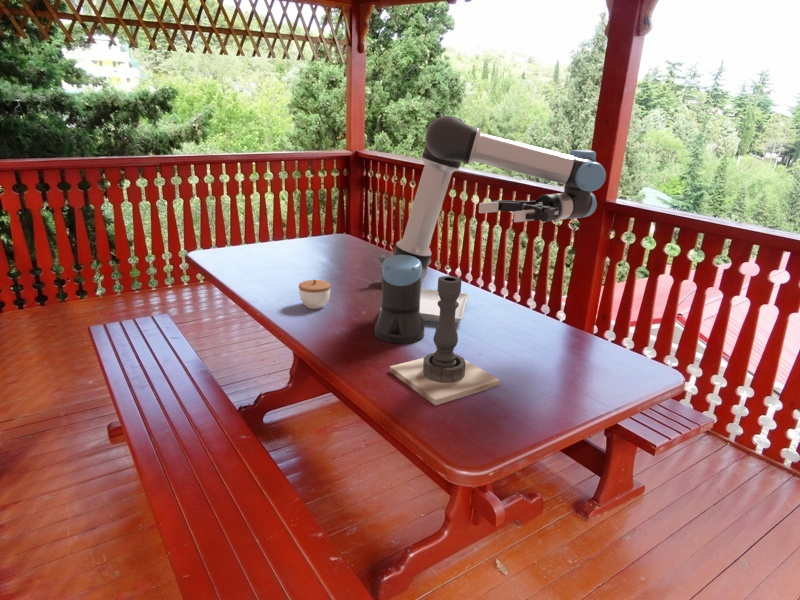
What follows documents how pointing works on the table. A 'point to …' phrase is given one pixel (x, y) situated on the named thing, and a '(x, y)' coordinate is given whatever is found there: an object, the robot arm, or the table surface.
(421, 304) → the square plate
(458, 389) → the socket board
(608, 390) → the table surface
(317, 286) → the lidded jar
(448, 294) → the candle holder
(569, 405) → the table surface
